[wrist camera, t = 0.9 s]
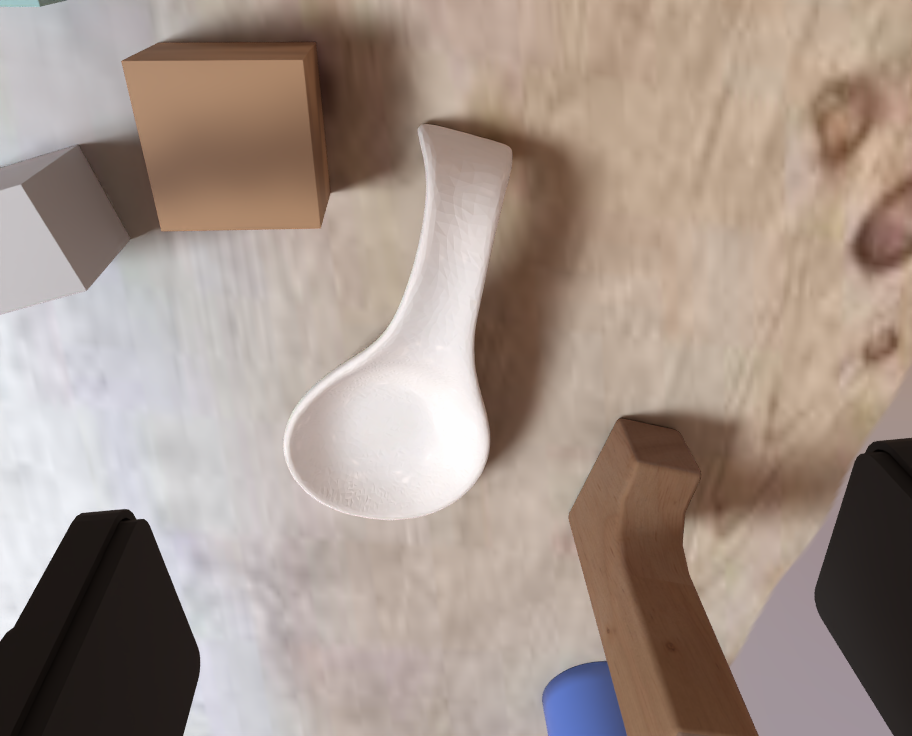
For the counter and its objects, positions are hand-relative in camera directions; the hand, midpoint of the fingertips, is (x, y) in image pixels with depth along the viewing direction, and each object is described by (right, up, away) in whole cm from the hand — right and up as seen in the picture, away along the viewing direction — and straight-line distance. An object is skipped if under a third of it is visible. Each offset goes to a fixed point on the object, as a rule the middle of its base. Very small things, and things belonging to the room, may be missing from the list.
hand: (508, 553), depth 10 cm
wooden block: (+10, -4, +38) cm, 39 cm away
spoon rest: (-3, +5, +31) cm, 32 cm away
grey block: (-21, +11, +26) cm, 34 cm away
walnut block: (-11, +14, +24) cm, 30 cm away
